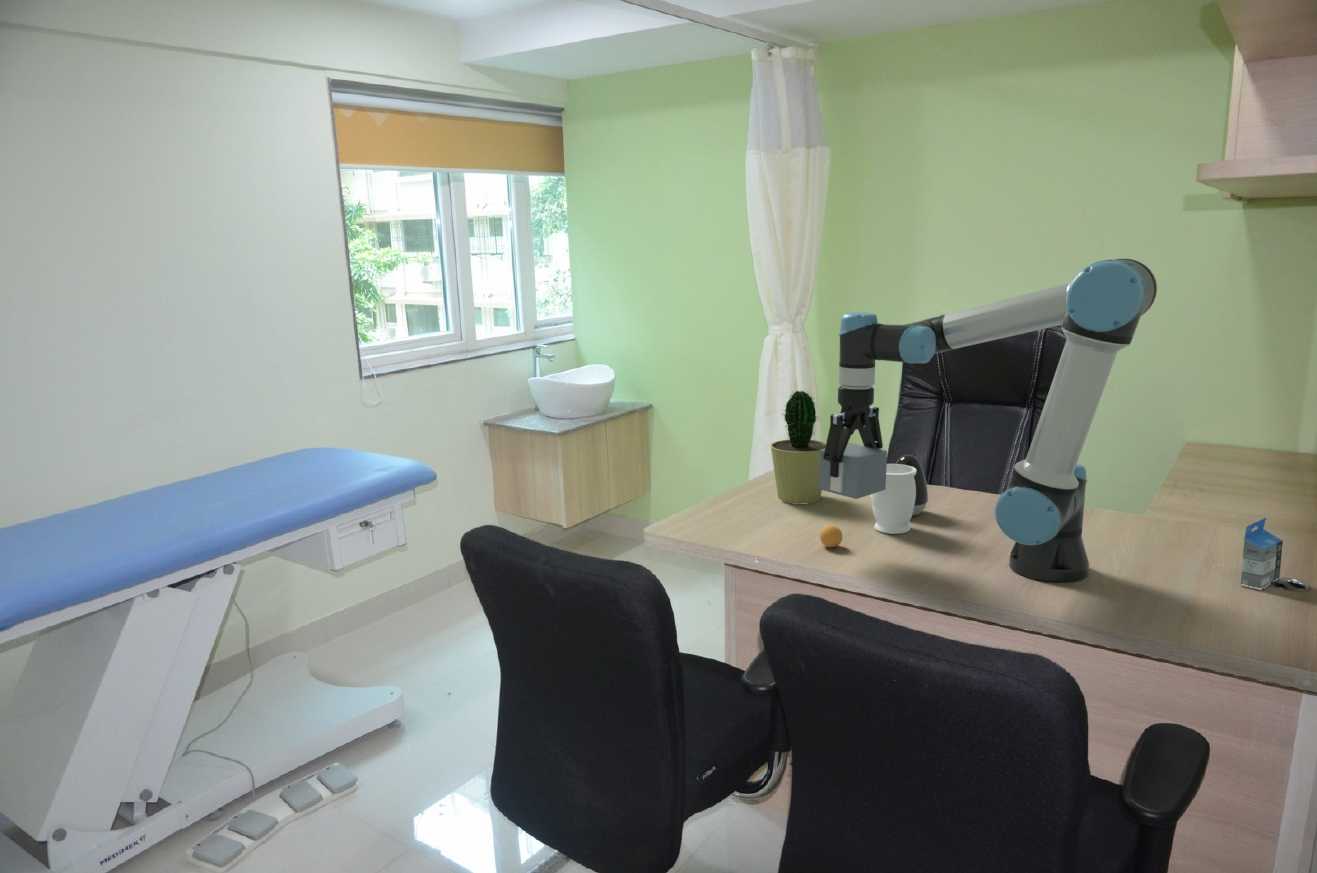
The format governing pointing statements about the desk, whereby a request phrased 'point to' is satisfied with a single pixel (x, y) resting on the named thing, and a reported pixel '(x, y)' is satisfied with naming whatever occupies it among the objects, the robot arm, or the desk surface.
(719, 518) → the desk surface
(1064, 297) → the robot arm
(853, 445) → the slate gray cube
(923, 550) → the desk surface
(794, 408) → the potted cactus
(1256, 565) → the label tape box
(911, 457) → the dark gray tall dome
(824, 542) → the ball
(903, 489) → the jar
